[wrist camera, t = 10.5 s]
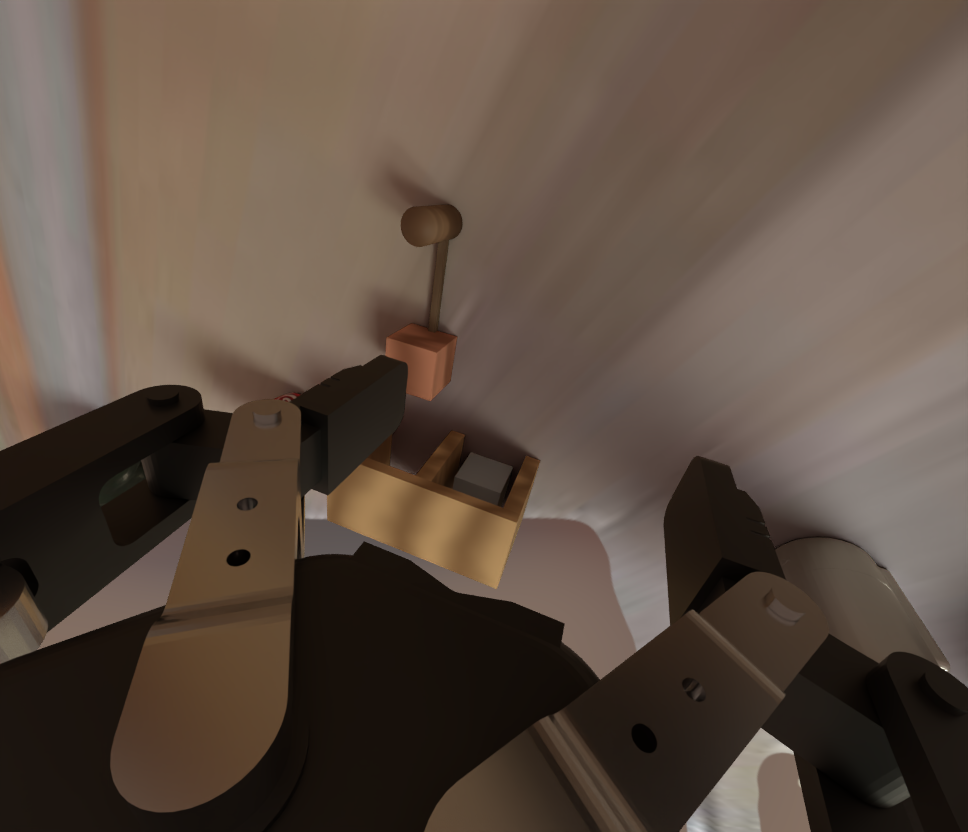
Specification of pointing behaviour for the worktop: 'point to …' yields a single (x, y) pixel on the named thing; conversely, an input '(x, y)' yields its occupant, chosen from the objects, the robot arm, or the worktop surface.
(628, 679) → the robot arm
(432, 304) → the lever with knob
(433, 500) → the oak shelf
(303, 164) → the worktop surface
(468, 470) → the slate block
